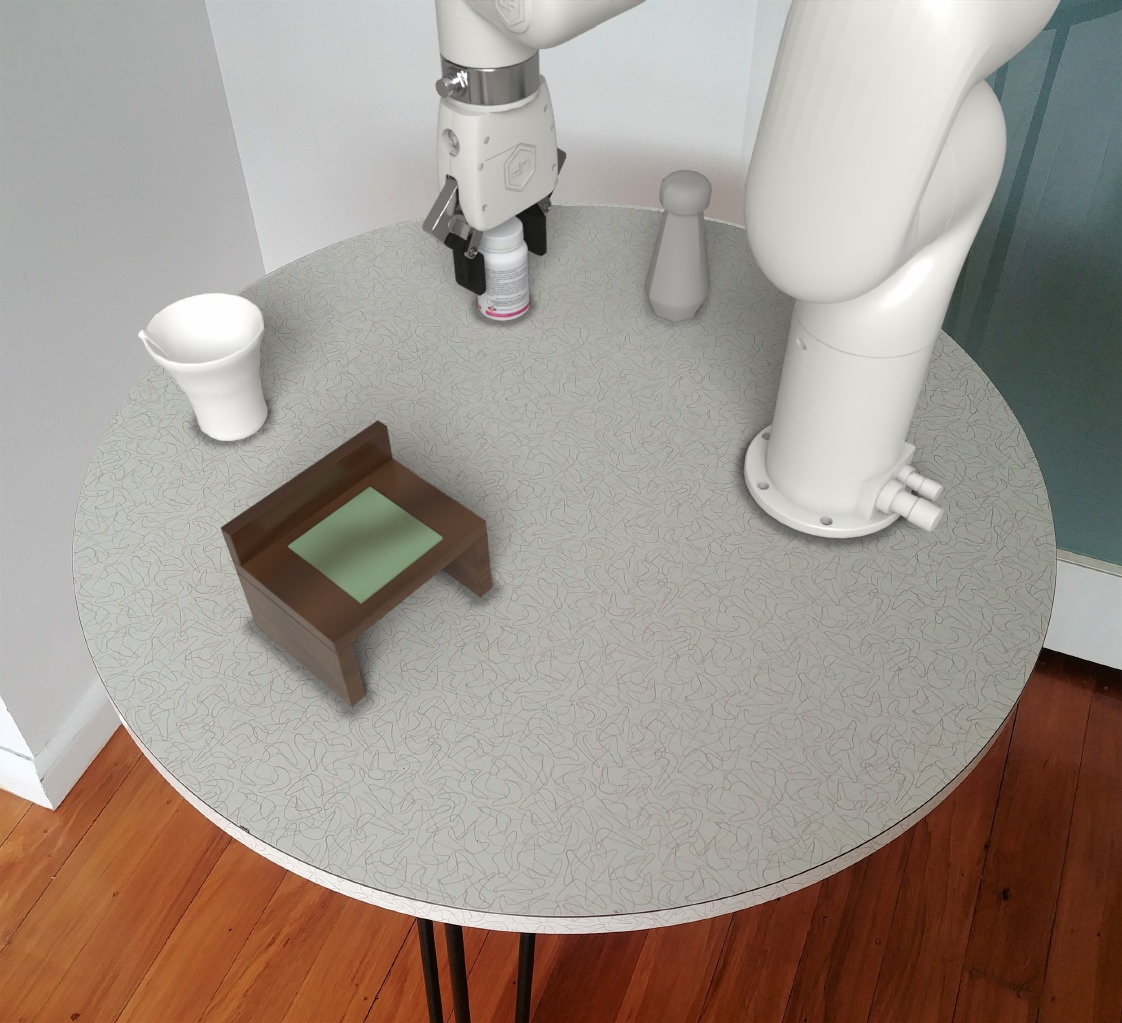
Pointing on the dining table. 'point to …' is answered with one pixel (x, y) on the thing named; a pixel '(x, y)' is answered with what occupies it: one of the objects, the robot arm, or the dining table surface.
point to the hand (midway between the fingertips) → (501, 267)
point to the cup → (213, 360)
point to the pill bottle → (505, 272)
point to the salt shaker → (680, 248)
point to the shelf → (349, 553)
